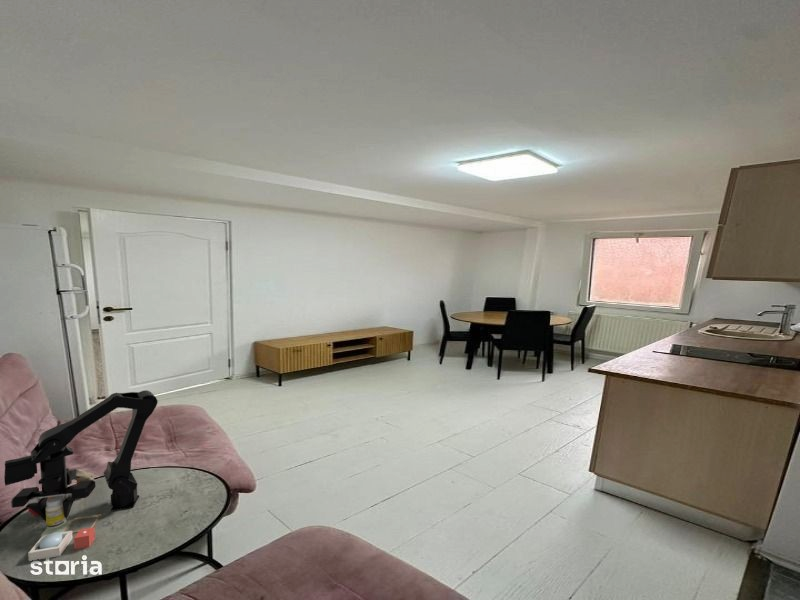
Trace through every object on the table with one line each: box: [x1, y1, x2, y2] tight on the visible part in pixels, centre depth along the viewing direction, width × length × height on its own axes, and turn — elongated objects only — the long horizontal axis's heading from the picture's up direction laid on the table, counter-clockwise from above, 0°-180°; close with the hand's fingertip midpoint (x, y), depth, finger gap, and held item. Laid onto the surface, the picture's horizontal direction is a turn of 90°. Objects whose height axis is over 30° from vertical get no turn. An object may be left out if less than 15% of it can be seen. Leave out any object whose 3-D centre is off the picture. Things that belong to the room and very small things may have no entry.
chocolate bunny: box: [64, 468, 95, 502], centre depth 131 cm, size 6×8×10 cm
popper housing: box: [27, 530, 74, 562], centre depth 108 cm, size 7×7×2 cm
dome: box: [39, 532, 62, 549], centre depth 108 cm, size 5×5×3 cm
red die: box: [73, 526, 96, 550], centre depth 110 cm, size 4×4×4 cm
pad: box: [40, 519, 73, 538], centre depth 116 cm, size 6×6×1 cm
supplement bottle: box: [45, 495, 68, 529], centre depth 115 cm, size 5×5×8 cm
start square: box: [64, 513, 102, 534], centre depth 118 cm, size 7×7×1 cm
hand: (56, 518), depth 115 cm, fingers closed on supplement bottle, 5 cm apart
